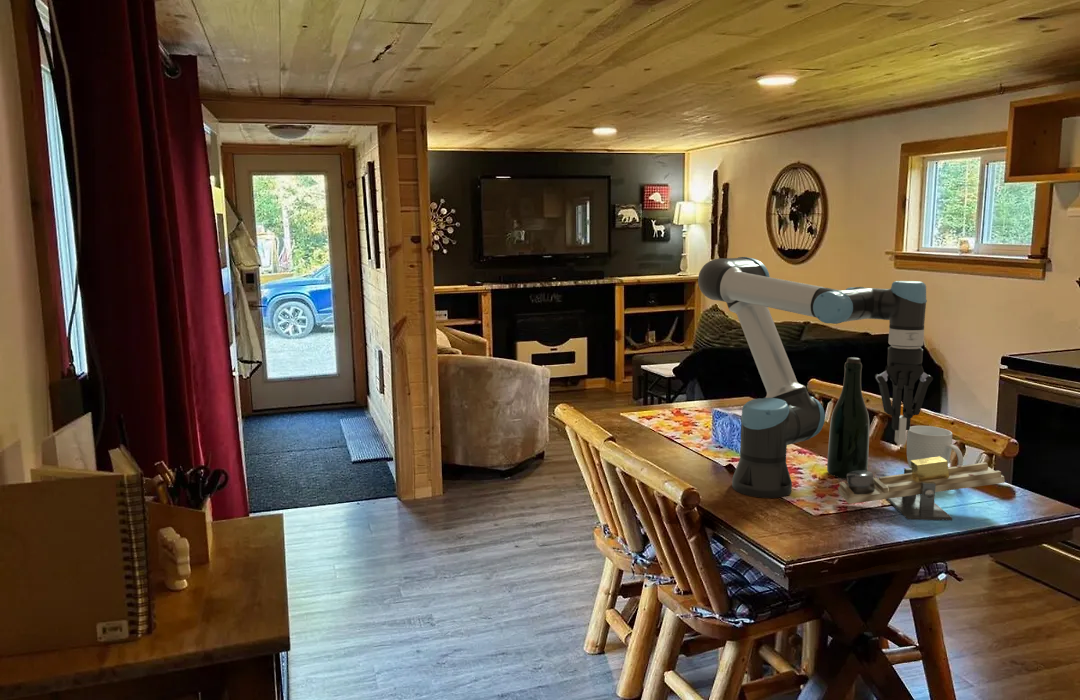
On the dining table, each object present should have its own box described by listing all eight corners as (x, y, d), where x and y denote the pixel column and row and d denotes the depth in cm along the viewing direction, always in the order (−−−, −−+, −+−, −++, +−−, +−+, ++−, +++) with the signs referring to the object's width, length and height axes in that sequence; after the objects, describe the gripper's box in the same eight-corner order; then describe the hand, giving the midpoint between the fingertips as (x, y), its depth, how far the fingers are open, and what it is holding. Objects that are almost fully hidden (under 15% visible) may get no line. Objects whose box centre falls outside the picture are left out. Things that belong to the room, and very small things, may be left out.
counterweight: (852, 495, 187) (850, 480, 187) (845, 487, 193) (843, 472, 193) (878, 492, 187) (876, 476, 186) (870, 484, 192) (868, 468, 192)
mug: (971, 481, 209) (975, 434, 207) (949, 489, 203) (952, 441, 201) (918, 467, 221) (921, 423, 219) (896, 474, 215) (899, 429, 213)
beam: (848, 504, 187) (847, 492, 186) (838, 492, 194) (837, 482, 194) (1004, 482, 183) (1003, 471, 182) (988, 472, 191) (987, 461, 190)
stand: (907, 519, 182) (910, 485, 181) (885, 497, 197) (887, 465, 196) (951, 520, 182) (954, 486, 180) (925, 498, 196) (928, 466, 195)
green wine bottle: (836, 466, 223) (843, 353, 218) (873, 474, 216) (881, 357, 211) (820, 474, 216) (826, 357, 211) (857, 483, 208) (864, 362, 203)
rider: (919, 485, 186) (917, 465, 186) (912, 479, 190) (910, 460, 190) (949, 480, 186) (947, 461, 185) (942, 475, 190) (940, 456, 189)
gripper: (882, 348, 180) (877, 446, 184) (940, 348, 179) (934, 447, 183) (871, 344, 188) (866, 438, 191) (927, 344, 187) (921, 439, 190)
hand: (899, 442), depth 187 cm, fingers closed
